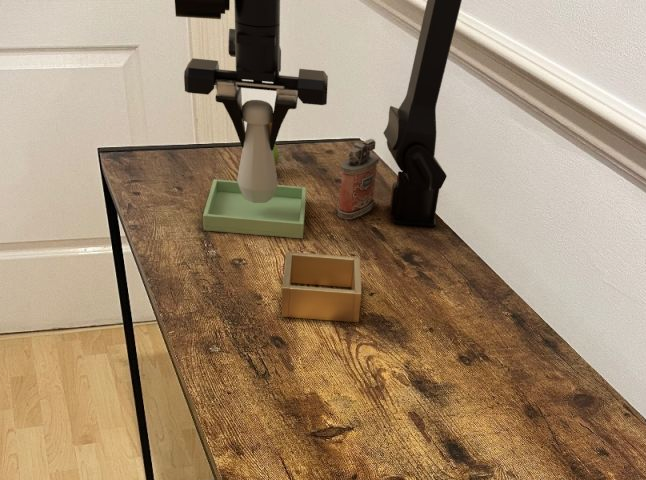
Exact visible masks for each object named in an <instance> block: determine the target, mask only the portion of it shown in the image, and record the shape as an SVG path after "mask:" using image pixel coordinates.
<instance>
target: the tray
mask: <svg viewBox="0 0 646 480" xmlns="http://www.w3.org/2000/svg"><path fill="white" fill-rule="evenodd" d="M306 202H307V187H306V186H304V187H303V186H295V185H285V184H284V185H283V184H278V185H277V188H276V190H275V193H274V195H273V198H272V199H271V200H269V201H268V202H266V203H252V202H250V201H248V200H246V199H244V197H243V195H242V192H241V190H240V188H239V185H238V180H229V179H217V178H214V179H213V180H212V184H211V187H210V190H209V194H208V198H207V201H206V204H205V207H204V210H203V213H202V222H203V224H202V225H203V226H202V227H203V231H209V232H221V233H230V234H231V233H233V234H244V235H254V236H255V235H256V236H266V237H267V236H269V237H279V238H292V239H304V229H305V217H306V215H305V214H306Z"/></svg>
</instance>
